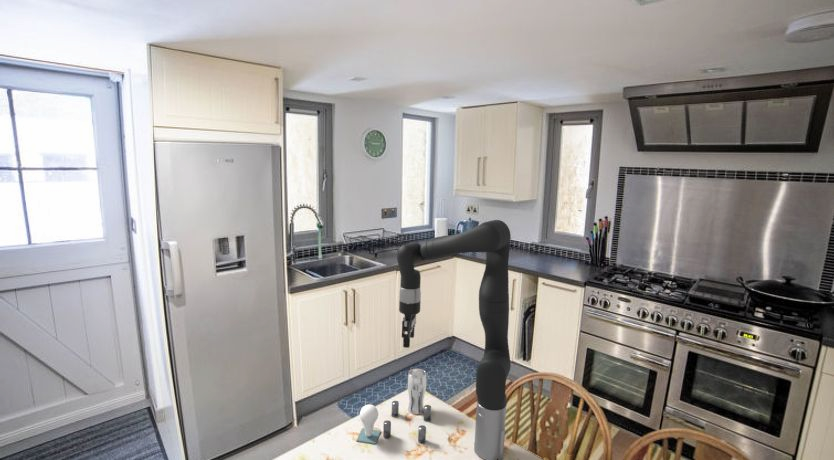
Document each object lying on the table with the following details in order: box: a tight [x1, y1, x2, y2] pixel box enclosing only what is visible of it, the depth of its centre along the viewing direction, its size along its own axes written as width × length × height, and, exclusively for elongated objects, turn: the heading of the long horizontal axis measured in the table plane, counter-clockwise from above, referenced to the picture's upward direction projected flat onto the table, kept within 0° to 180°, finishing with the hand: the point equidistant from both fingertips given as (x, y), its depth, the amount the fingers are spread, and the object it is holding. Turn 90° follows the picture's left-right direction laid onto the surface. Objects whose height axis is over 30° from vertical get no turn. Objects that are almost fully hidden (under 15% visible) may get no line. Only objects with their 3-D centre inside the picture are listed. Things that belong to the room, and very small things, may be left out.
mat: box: [356, 427, 381, 445], centre depth 137 cm, size 6×6×1 cm
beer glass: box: [407, 368, 427, 415], centre depth 152 cm, size 7×7×15 cm
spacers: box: [382, 400, 432, 445], centre depth 142 cm, size 14×14×5 cm
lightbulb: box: [359, 404, 379, 437], centre depth 136 cm, size 6×6×11 cm
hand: (408, 342), depth 146 cm, fingers open, 8 cm apart
